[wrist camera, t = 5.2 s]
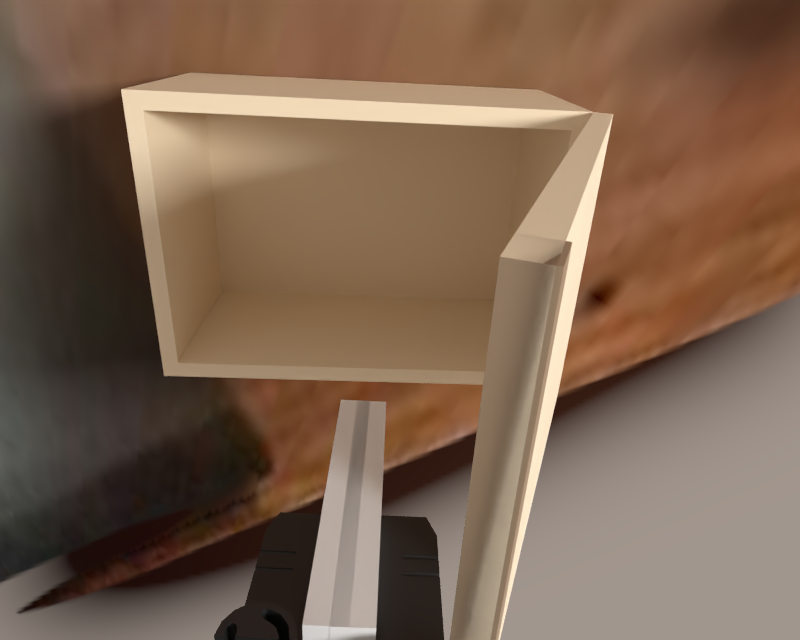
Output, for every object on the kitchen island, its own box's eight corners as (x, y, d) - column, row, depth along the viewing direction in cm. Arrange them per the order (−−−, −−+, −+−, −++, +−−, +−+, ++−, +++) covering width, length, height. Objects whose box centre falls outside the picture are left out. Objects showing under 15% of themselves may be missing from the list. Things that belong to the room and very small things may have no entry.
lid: (430, 788, 15) (465, 804, 14) (499, 256, 8) (563, 267, 8) (543, 387, 32) (560, 391, 31) (594, 112, 25) (615, 114, 25)
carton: (213, 297, 40) (164, 375, 31) (190, 72, 34) (120, 89, 25) (507, 306, 41) (542, 386, 32) (538, 89, 34) (593, 112, 26)
